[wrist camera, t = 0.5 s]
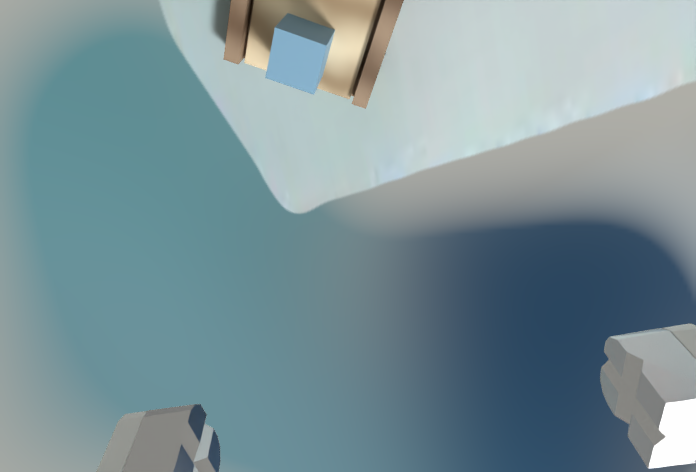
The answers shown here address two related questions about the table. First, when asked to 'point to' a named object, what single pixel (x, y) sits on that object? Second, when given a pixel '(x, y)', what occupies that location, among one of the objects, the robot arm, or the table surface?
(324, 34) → the cube
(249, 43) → the wooden board with post
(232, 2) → the track
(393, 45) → the table surface
